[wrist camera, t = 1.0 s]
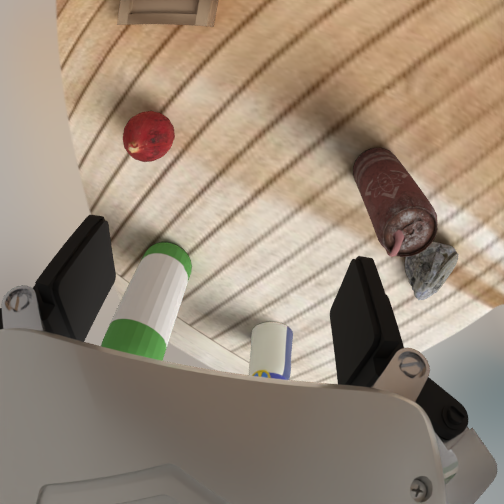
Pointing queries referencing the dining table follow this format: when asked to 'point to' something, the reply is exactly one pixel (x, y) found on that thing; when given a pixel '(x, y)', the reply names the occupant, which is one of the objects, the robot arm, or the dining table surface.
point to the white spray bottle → (271, 351)
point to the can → (394, 203)
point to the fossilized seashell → (430, 269)
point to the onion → (148, 136)
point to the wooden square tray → (168, 12)
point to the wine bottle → (150, 303)
